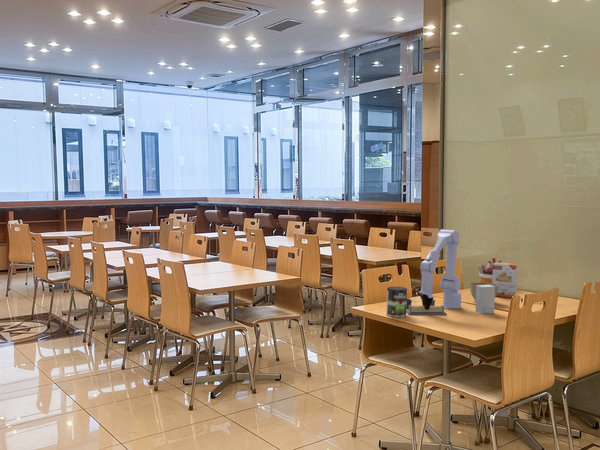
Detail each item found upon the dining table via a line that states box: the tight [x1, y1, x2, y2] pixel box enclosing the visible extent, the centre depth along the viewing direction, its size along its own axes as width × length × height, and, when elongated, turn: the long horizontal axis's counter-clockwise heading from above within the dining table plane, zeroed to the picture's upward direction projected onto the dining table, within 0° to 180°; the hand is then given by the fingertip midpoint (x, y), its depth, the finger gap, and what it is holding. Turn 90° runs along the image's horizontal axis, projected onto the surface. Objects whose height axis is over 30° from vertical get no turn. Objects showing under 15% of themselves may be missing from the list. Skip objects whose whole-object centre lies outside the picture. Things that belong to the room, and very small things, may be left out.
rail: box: [408, 304, 445, 312], centre depth 300 cm, size 18×3×3 cm, turn 94°
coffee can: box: [385, 286, 408, 318], centre depth 295 cm, size 10×10×14 cm
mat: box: [406, 309, 447, 316], centre depth 300 cm, size 20×7×1 cm, turn 94°
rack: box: [406, 298, 436, 310], centre depth 312 cm, size 16×4×5 cm, turn 94°
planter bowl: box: [469, 282, 499, 303], centre depth 333 cm, size 16×16×11 cm
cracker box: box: [492, 262, 519, 299], centre depth 354 cm, size 14×6×21 cm, turn 59°
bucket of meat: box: [477, 257, 502, 283], centre depth 384 cm, size 20×16×20 cm
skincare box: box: [475, 285, 496, 315], centre depth 305 cm, size 8×6×15 cm
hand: (426, 308), depth 300 cm, fingers closed on rail, 2 cm apart
